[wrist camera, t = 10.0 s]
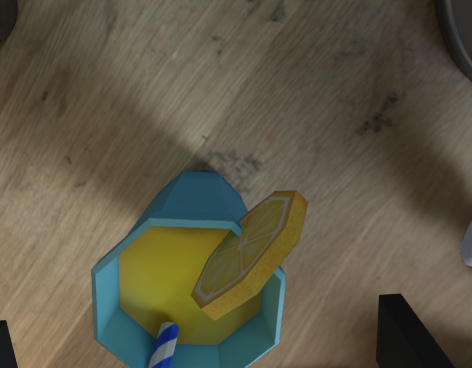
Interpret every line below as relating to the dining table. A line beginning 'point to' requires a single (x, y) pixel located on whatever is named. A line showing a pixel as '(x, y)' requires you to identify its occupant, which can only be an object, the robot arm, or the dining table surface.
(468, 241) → the toy figurine
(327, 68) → the dining table surface
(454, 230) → the dining table surface
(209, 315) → the cup
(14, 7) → the sake bottle
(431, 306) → the dining table surface
